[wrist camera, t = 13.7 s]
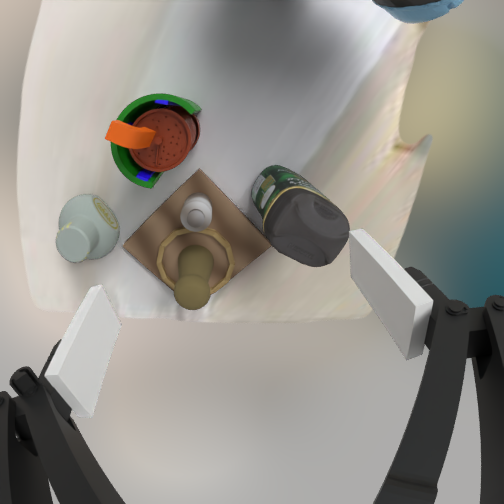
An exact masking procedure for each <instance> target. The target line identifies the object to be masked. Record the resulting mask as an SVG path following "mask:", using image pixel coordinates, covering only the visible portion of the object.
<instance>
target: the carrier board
mask: <svg viewBox="0 0 504 504" xmlns="http://www.w3.org/2000/svg"><path fill="white" fill-rule="evenodd" d="M191 245H200V246H203V247H205V248H206V249H208V250H209V251H210V252H211V254H212V255H213V259H214V265H213V269H212V272H211V275H210V279H209V282H208V284H209V286H210V295H211V294H213V293H214V292H217V291H218V290H219V289H220V288H222V287H223V286H224V285H225V284H227V283H228V282H229V280H230V279H231V278H232V277H234V276H235V275H236V274H237V273H239V272H240V271H241V270H242V269H244V268H245V267H246V266H247V265H248V264H250V263H251V262H252V261H253V260H255V259H256V258H257V257H258V256H260V255H261V254H262V253H263V252H264V251H266V250H267V249H268V248H269V247H271V243H270V242H269V240H268V239H267V238H266V237H265V236H264V235H263V234H262V233H261V232H260V231H259V230H258V229H257V228H256V227H255V226H254V225H253V223H252V222H251V221H250V220H249V219H248V218H247V217H246V216H245V215H244V214H243V213H242V212H241V211H240V210H239V209H238V208H237V207H236V206H235V205H234V204H233V202H232V201H231V200H230V199H229V198H228V197H227V196H226V195H225V194H224V193H223V192H222V191H221V190H220V189H219V188H218V187H217V186H216V185H215V184H214V183H213V182H212V181H211V180H210V179H209V178H208V176H207V175H206V174H205V173H204V172H203V171H202V170H201V169H200V168H199V169H198V170H197V171H196V172H195V173H194V174H193V175H192V176H191V177H190V178H189V179H188V180H187V181H186V182H184V183H183V184H182V185H181V186H180V187H179V188H178V189H177V190H176V191H175V192H174V193H173V194H172V195H171V196H170V197H169V198H168V199H167V200H166V201H165V202H164V203H163V204H162V205H161V206H160V207H159V208H158V209H157V210H156V211H155V212H154V213H153V214H152V215H151V216H150V217H149V218H148V219H147V220H146V221H145V222H144V223H143V224H142V225H141V226H140V227H139V228H138V229H137V230H136V231H135V232H134V233H133V234H132V235H131V237H130V238H129V239H128V240H127V241H126V242H125V243H124V245H123V247H124V248H125V249H126V250H127V251H128V252H129V253H131V254H132V255H133V256H134V257H135V258H136V259H137V260H138V261H139V262H141V263H142V264H143V265H144V266H145V267H146V268H147V269H149V270H150V271H151V272H152V273H153V274H154V275H155V276H157V277H158V278H159V279H160V280H161V281H162V282H164V283H165V284H166V285H167V286H168V287H169V288H171V289H172V290H173V291H174V287H175V284H176V282H177V281H178V280H179V274H178V257H179V254H180V252H181V251H182V250H183V249H184V248H186V247H187V246H191Z"/></svg>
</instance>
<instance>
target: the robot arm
mask: <svg viewBox="0 0 504 504" xmlns="http://www.w3.org/2000/svg"><path fill="white" fill-rule="evenodd" d="M372 1H373V2H374V3H375V4H376V5H378V6H379V7H381V8H383V9H385V10H386V11H387V12H388V13H390V14H391V15H392V16H393V17H394V18H396V19H398V20H400V21H402V22H405V23H422V22H427V21H430V20H433V19H436V18H438V17H440V16H443V15H445V14H447V13H448V12H449V10H450V9H452V8H456V7H457V6H459V5H460V4H461V3H462V2H463V1H464V0H372ZM349 244H350V267H351V278H352V279H353V281H354V282H355V284H356V285H357V286H358V288H359V289H360V291H361V292H362V294H363V295H364V297H365V298H366V300H367V301H368V302H369V304H370V305H371V307H372V308H373V310H374V311H375V313H376V314H377V316H378V317H379V319H380V320H381V322H382V323H383V325H384V326H385V328H386V329H387V331H388V332H389V334H390V336H391V337H392V339H393V340H394V342H395V343H396V345H397V346H398V348H399V349H400V351H401V353H402V354H403V356H404V357H405V359H406V360H409V359H412V358H414V357H417V356H419V355H422V354H423V349H424V344H425V345H426V346H427V347H428V349H429V350H430V351H429V355H428V358H427V362H426V366H425V370H424V374H423V377H422V381H421V384H420V388H419V391H418V394H417V397H416V401H415V404H414V407H413V410H412V413H411V416H410V418H409V421H408V424H407V427H406V430H405V432H404V435H403V438H402V440H401V443H400V445H399V448H398V451H397V453H396V455H395V457H394V460H393V462H392V465H391V467H390V469H389V471H388V473H387V476H386V478H385V480H384V482H383V484H382V486H381V488H380V490H379V493H378V494H377V497H376V499H375V501H374V502H373V504H434V502H435V499H436V496H437V492H438V489H437V483H438V479H439V477H440V474H441V470H442V467H443V464H444V461H445V458H446V454H447V451H448V447H449V444H450V440H451V436H452V433H453V428H454V424H455V420H456V415H457V411H458V406H459V401H460V396H461V391H462V385H463V379H464V372H465V365H466V358H472V364H473V370H474V377H475V383H476V391H477V400H478V410H479V421H480V437H481V494H480V504H504V297H503V296H499V295H493V296H490V297H488V298H487V300H486V302H485V306H484V307H478V308H469V307H468V306H467V305H466V304H465V303H463V302H462V301H458V300H449V299H448V298H447V297H446V296H445V295H444V294H443V293H442V292H441V291H440V290H439V289H438V288H437V287H436V286H435V285H434V284H432V282H431V281H430V280H429V279H427V277H426V276H425V275H424V274H423V273H422V272H421V271H420V270H417V269H415V268H413V267H409V268H405V269H403V268H402V267H401V266H400V265H399V264H398V263H397V262H396V261H395V260H394V259H393V258H392V257H391V256H390V255H389V254H388V253H387V252H386V251H385V250H384V249H383V248H382V247H381V246H380V245H379V244H378V243H377V242H376V241H375V240H374V239H373V238H372V237H371V236H370V235H369V234H368V233H367V232H366V231H365V230H364V229H363V228H361V229H357V230H352V231H349ZM121 325H122V324H121V322H120V320H119V318H118V316H117V314H116V312H115V310H114V308H113V306H112V304H111V302H110V300H109V297H108V295H107V293H106V291H105V289H104V287H103V285H97V286H92V287H90V289H89V291H88V293H87V294H86V296H85V298H84V300H83V301H82V303H81V305H80V307H79V308H78V310H77V312H76V314H75V316H74V318H73V320H72V321H71V323H70V325H69V327H68V329H67V331H66V333H65V334H64V336H63V338H62V339H61V340H60V341H59V342H58V343H57V344H56V345H55V346H54V347H53V349H52V351H51V353H50V356H49V357H48V360H47V362H46V363H45V365H44V367H43V369H42V372H41V374H40V376H39V378H37V376H36V375H35V373H34V372H33V371H32V369H31V368H30V367H22V368H20V369H18V370H17V371H16V372H14V374H13V375H12V376H11V379H10V385H11V387H12V388H13V389H14V390H15V392H16V393H17V394H18V395H19V396H17V397H14V398H11V396H10V395H9V394H8V393H7V392H6V391H2V392H0V504H53V501H52V497H51V492H50V487H49V481H50V484H51V486H52V488H53V490H54V492H55V495H56V497H57V499H58V501H59V503H60V504H125V502H124V501H123V500H122V498H121V497H120V495H119V494H118V493H117V491H116V490H115V488H114V487H113V485H112V484H111V483H110V481H109V479H108V478H107V476H106V475H105V473H104V472H103V470H102V469H101V467H100V466H99V464H98V462H97V461H96V459H95V457H94V456H93V454H92V452H91V451H90V449H89V447H88V446H87V444H86V442H85V440H84V438H83V437H82V435H81V433H80V431H79V429H78V428H77V426H76V424H75V422H74V420H73V419H72V418H71V417H70V413H71V410H73V411H74V412H75V414H76V415H77V416H78V417H80V418H92V417H93V414H94V410H95V407H96V403H97V400H98V396H99V393H100V389H101V386H102V383H103V379H104V376H105V373H106V370H107V367H108V364H109V360H110V357H111V354H112V351H113V348H114V345H115V342H116V339H117V336H118V334H119V330H120V328H121ZM16 436H17V438H16ZM48 479H49V481H48Z"/></svg>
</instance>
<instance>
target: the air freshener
mask: <svg viewBox="0 0 504 504" xmlns="http://www.w3.org/2000/svg"><path fill="white" fill-rule="evenodd" d="M119 233H120V227H119V224H118V221H117V219H116V217H115V216H114V214H113V212H112V211H111V210H110V208H109V207H108V206H107V205H106V203H105V202H104V201H103V200H102V199H100V198H99V197H98V196H96V195H92V194H83V195H79V196H76V197H74V198H72V199H71V200H69V201H68V202H67V203H66V205H65V206H64V207H63V209H62V211H61V214H60V217H59V232H58V233H57V237H56V246H57V249H58V251H59V253H60V254H61V255H62V257H63V258H65V259H66V260H68V261H70V262H73V263H77V262H82V261H84V260H85V259H98V258H101V257H103V256H105V255H107V254H108V253H109V252H111V250H112V249H113V248H114V247H115V245H116V243H117V241H118V238H119Z"/></svg>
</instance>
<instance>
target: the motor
mask: <svg viewBox="0 0 504 504" xmlns="http://www.w3.org/2000/svg"><path fill="white" fill-rule="evenodd" d="M164 104H165V105H178V106H168V107H165V108H162V109H158V108H159V107H160V106H162V105H164ZM200 110H201V108H200V107H199V106H198V105H196V104H195V103H193V102H192V101H190V100H187V99H184V98H180V97H177V96H173V95H169V94H151V95H147V96H143V97H141V98H139V99H137V100H135V101H133V102H132V103H131V104H129V105H128V106H127V107H126V108H125V109H124V110H123V111H122V112H121V114H120V115H119V117H118V118H117V120H115V121H112V122H111V124H110V127H109V129H108V132H107V134H106V137H105V139H106V140H109V141H111V151H112V155H113V159H114V161H115V163H116V165H117V167H118V168H119V170H120V171H121V172H122V174H123V175H124V176H125V177H126V178H128V179H129V180H130V181H132V182H133V183H135V184H137V185H140V186H143V187H146V188H153V186H154V185H155V183H156V182H157V181H158V179H159V178H160V176H161V175H162V174H163V172H164V171H167V170H170V169H173V168H175V167H176V166H178V165H179V164H180V163H181V162H182V161H183V160H184V159H185V157H186V156H187V154H188V152H189V151H190V150H191V149H192V148H193V147H194V146H195V144H196V142H197V140H198V138H199V135H200V124H199V121H198V119H197V117H196V116H195V114H194V113H197V112H199V111H200Z"/></svg>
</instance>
